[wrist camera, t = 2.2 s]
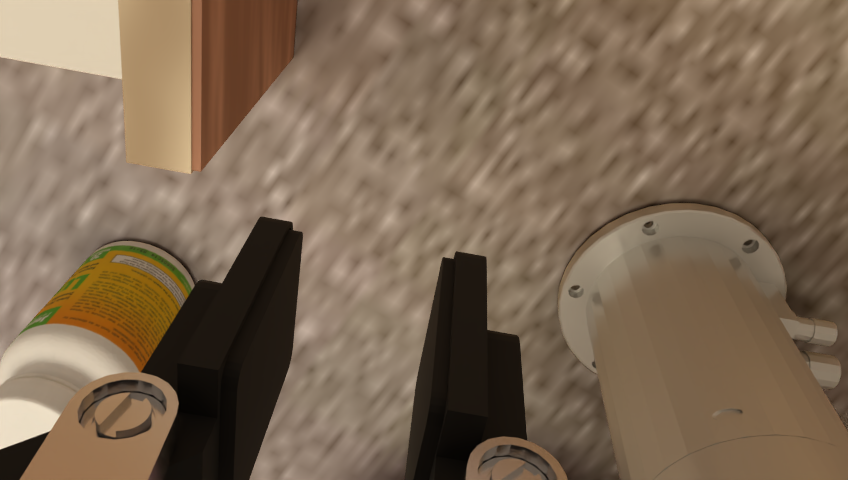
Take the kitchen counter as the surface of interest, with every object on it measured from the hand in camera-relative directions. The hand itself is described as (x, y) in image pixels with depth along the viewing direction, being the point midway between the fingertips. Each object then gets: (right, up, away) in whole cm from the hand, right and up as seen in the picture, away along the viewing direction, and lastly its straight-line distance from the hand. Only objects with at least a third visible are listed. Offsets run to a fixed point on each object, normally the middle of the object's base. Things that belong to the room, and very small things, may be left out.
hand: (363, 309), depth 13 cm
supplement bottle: (-16, -2, +32) cm, 36 cm away
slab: (-6, +14, +22) cm, 26 cm away
